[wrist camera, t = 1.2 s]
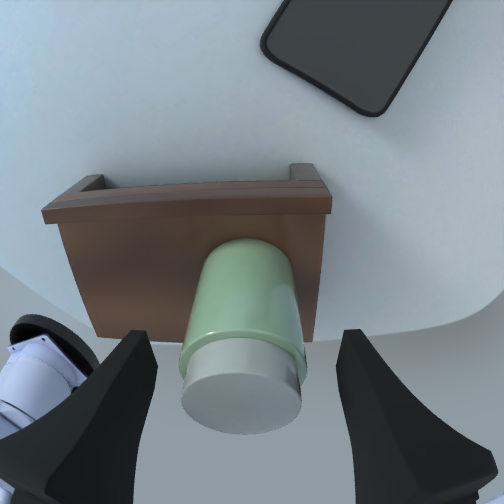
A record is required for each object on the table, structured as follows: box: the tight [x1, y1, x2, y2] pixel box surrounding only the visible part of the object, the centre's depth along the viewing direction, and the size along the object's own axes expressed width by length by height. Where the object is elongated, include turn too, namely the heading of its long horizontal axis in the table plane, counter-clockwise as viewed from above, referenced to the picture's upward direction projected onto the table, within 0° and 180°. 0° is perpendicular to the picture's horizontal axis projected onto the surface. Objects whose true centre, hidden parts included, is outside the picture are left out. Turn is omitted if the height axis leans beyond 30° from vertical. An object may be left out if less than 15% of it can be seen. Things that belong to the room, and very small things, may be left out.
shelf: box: [41, 164, 332, 343], centre depth 17 cm, size 9×13×5 cm
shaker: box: [179, 238, 307, 435], centre depth 12 cm, size 4×4×7 cm
